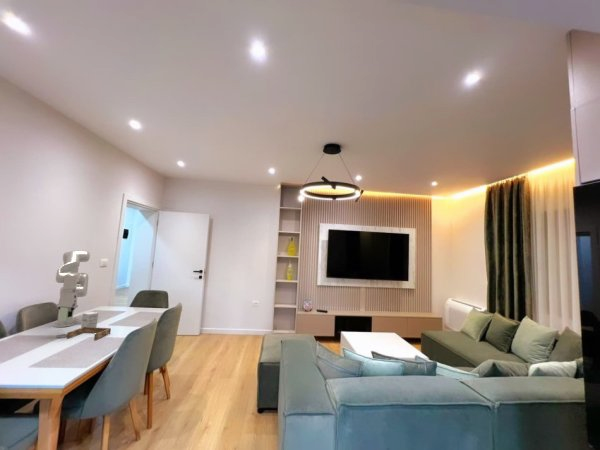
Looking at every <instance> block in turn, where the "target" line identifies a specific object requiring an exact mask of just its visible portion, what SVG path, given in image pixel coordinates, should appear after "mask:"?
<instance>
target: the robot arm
mask: <svg viewBox="0 0 600 450" xmlns="http://www.w3.org/2000/svg"><path fill="white" fill-rule="evenodd" d="M90 254H91V253H90V252H89V251H87V250H70V251H67V252H64V253H63V254H62V255H63V256H62V262H63V265H61V266H60V267H59V268H58V269H57V270H56V274H55V282H56V283H58V284H63V285H62V287H60V289H59V300H58V302H57V304H56V308H57V309H58V315H57V321H56V323H55V324H54V328H68V327H72V326H75V324H76V323H75V322H74V321H76V320H77V319H78V318H77V317H74V312H75V310H76V308H78V307H79V305H78V298H83V297H84V298H85V297H86V296H87V295H88V290H89V289H88V288H89V287H88V286H89V274H88V273H86V272H79V267H80V264H81V263H87V262H89V261H90V258H91V257H90V256H91V255H90ZM61 307H69V312H68V317H71V316H72V319H70V320H67V321H60V320H59V316H60V308H61Z"/></svg>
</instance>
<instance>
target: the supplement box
mask: <svg viewBox="0 0 600 450" xmlns="http://www.w3.org/2000/svg"><path fill="white" fill-rule="evenodd" d="M98 318H99V312H96V311H88V312H83V313H82V319H81V327H80V328H82V327H95V328H98V327H97V326H98V320H99V319H98Z"/></svg>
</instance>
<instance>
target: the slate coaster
mask: <svg viewBox="0 0 600 450" xmlns="http://www.w3.org/2000/svg"><path fill="white" fill-rule="evenodd" d="M55 338H56V339H65V338H66V339H67V333H61V334H57V335H56V336H55Z"/></svg>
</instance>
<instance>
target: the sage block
mask: <svg viewBox="0 0 600 450" xmlns="http://www.w3.org/2000/svg"><path fill="white" fill-rule="evenodd" d="M68 312H69V307H61V308H60V316H59V320H60V321H67V320H70V319H72V316H71V317H68Z"/></svg>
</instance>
